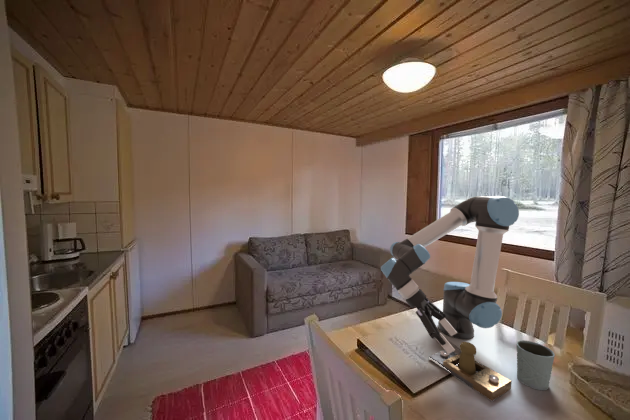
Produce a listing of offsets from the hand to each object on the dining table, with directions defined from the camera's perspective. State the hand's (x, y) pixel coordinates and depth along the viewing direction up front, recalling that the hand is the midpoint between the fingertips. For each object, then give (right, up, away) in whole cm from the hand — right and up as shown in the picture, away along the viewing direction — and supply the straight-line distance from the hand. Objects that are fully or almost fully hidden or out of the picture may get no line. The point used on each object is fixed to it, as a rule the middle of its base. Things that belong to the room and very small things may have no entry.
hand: (453, 342), depth 97 cm
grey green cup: (+25, -11, -5) cm, 28 cm away
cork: (+4, -11, -1) cm, 11 cm away
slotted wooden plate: (+4, -10, -2) cm, 11 cm away
